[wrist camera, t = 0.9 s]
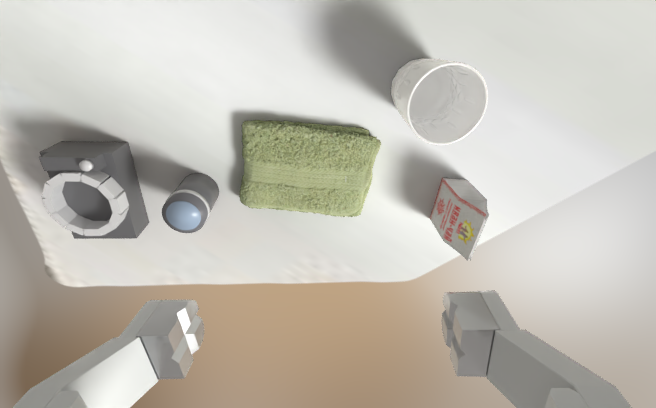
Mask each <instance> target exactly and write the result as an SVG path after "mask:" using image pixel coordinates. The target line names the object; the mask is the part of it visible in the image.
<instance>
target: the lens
mask: <svg viewBox="0 0 656 408" xmlns="http://www.w3.org/2000/svg"><path fill="white" fill-rule="evenodd" d="M218 195H219V188H218V185H217V184H216V182H215V181H214V180H213V179H212V178H211V177H209V176H207V175H205V174H201V173H194V174H190V175H188V176H187V177H186V178H185V179H184V180H183V181H182V183H181V184H180V185H179V186H178V188H177V189H176V190H175V191H174V193H172V194H171V195H170V196H169V198H168V199H167V201H166V203H165V204H164V206H163V208H162V216H163V219H164V221H165V222H166V223H167V225H168V226H170V227H171V228H172V229H174V230H176V231H178V232H182V233H192V232H196V231H198V230H199V229H201V228H202V226H203V225H204V223H205V222H206V221H207V219H208V217H209V214H210V211H211V210H212V208H213V206H214V204H215V202H216V200H217V198H218Z"/></svg>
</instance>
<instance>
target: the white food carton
mask: <svg viewBox="0 0 656 408" xmlns="http://www.w3.org/2000/svg"><path fill="white" fill-rule="evenodd" d="M488 216H489V214H488V212H487V199H486V198H485V197H484V196H483V195H482V194H481V193H480V192H479V191H478V190H477V189H476V188H475V187H474V186H473V185H472V184H471V183H470V182H469V181H468V180H462V179H451V178H442V181H441V184H440V187H439V191H438V194H437V197H436V200H435V203H434V207H433V210H432V213H431V216H430V220H431V221H432V223H433V224H434V226H435V228H436V229H437V231H438V233H439V234H440V236H441V237H442V239H443V241H444V242H446V243H447V244H448V245H450V246H451V247H452V248H453V249H455V250H456V251H457V252H459V253H460V254H461V255H462V256H463V257H465V259H466V260H468V259H470V260H471V258H472V255H473V253H474V250H475V248H476V246H477V243H478V241H479V238H480V236H481V233H482V231H483V228H484V226H485V224H486V221H487V219H488Z"/></svg>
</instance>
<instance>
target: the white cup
mask: <svg viewBox="0 0 656 408" xmlns="http://www.w3.org/2000/svg"><path fill="white" fill-rule="evenodd" d="M391 96H392V99H393V102H394V105H395V107H396V108H397V110H398V112H399V113H400V115H401V116H402V118H403V119H404V121H405V122H406V123H407V124H408V126H409V127H410V128H411V130H412V131H413V133H414V134H415V135H416V136H417V137H418V138H420V139H421V140H423V141H424V142H427V143H430V144H434V145H446V144H451V143H454V142H457V141H459V140H461V139H462V138H464V137H466V136H467V135H468V134H469V133H471V132H472V131H473V130H474V129H475V128H476V126H477V125H478V124H479V122H480V121H481V119H482V117H483V115H484V113H485V110H486V107H487V101H488V91H487V86H486V83H485V80H484V78H483V77H482V75H481V74H480V73H479V72H478V71H477V70H476V69H475V68H474V67H472V66H470V65H468V64H465V63H461V62H454V61H448V60H441V59H425V58H421V59H417V60H412V61H409V62H408V63H407V64H405V65H404V66H403V67H401V68H400V69H399V70H398V72H397V74H396V75H395V77H394V79H393V81H392V88H391Z"/></svg>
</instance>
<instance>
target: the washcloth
mask: <svg viewBox="0 0 656 408" xmlns="http://www.w3.org/2000/svg"><path fill="white" fill-rule="evenodd" d="M242 133H243V136H242V142H243V146H244V147H243V150H242V156H243V159H244V161H245V162H244V175H243V177H242V184H241V189H240V201H241V202H242V203H243V204H244V205H246V206H248V207H249V208H257V209H261V208H269V209H276V210H288V211H299V212H313V213H321V214H325V215H331V216H343V217H345V216H348V217H353V216H358V215H360V214H361V211H362V208H363V204H364V201H365V198H366V196H367V193H368V190H369V187H370V185H371V180H372V168H373V164H374V161H375V158H376V155H377V153H378V151H379V149H380V145H381V142H380V140H377V139H376V137H373V136H369V131H368V130H366V129H363V128H355V127H343V126H332V125H331V126H328V125H326V126H324V125H322V124H313V123H312V124H311V123H308V124H307V123H305V124H304V123H300V122H296V123H293V122H289V121H284V122H280V121H260V120H253V121H245V122H243V125H242Z"/></svg>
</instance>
